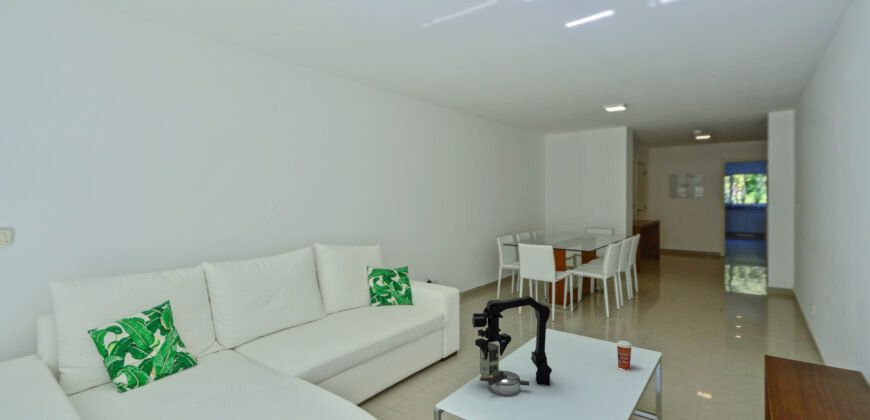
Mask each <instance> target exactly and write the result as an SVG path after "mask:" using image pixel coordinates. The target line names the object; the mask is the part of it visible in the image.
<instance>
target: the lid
mask: <svg viewBox="0 0 870 420" xmlns="http://www.w3.org/2000/svg"><path fill="white" fill-rule="evenodd" d="M487 377H488V382H487V383H488V386H489V385H493V384H495V383H496V384H499V385H514V384H517V383H518V382H519V381H520V380H521V377H520V375H518V374H517V373H516V372H512V371H510V370H499V371H495V372H493V373H491V374H490V376H487Z"/></svg>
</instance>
